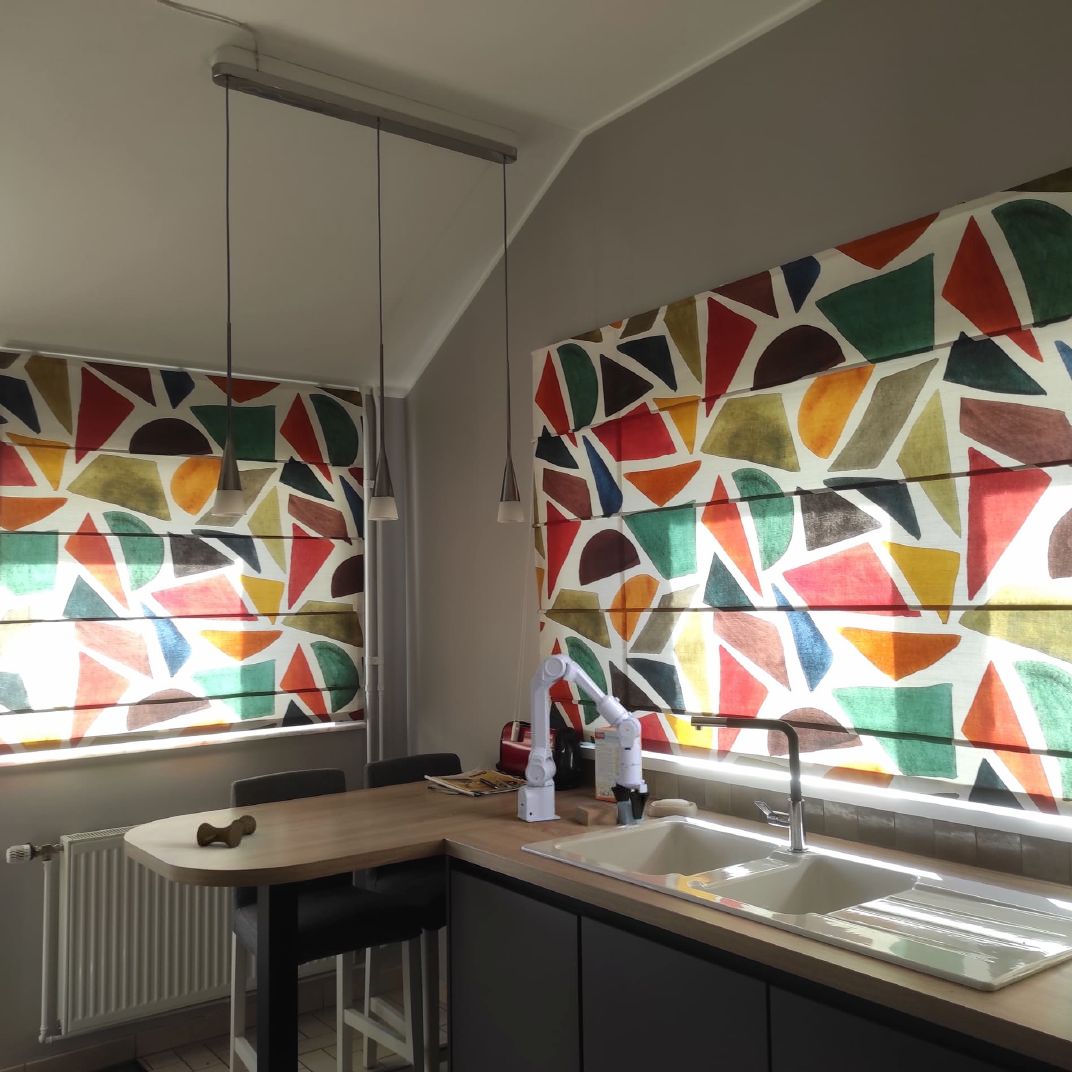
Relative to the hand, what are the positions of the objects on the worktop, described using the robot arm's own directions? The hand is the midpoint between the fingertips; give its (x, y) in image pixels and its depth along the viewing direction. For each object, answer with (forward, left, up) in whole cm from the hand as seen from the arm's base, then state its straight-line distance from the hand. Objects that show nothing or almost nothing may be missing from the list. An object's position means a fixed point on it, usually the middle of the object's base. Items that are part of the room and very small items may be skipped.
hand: (630, 816), depth 259 cm
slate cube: (0, 0, -2) cm, 2 cm away
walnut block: (-8, +4, -2) cm, 9 cm away
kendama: (-99, +22, -2) cm, 102 cm away
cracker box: (+11, +27, -2) cm, 29 cm away
